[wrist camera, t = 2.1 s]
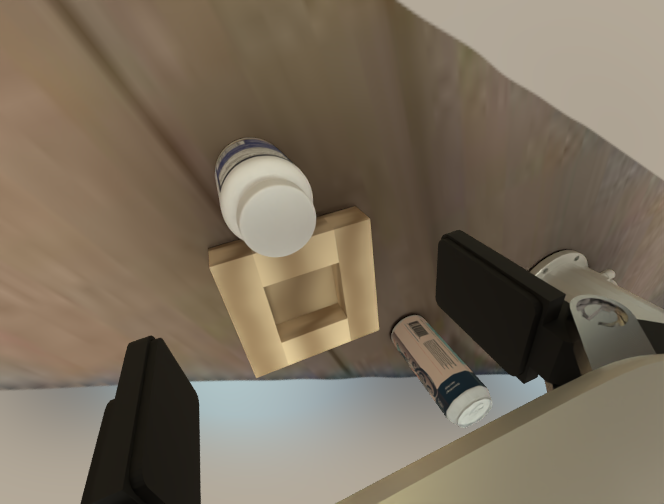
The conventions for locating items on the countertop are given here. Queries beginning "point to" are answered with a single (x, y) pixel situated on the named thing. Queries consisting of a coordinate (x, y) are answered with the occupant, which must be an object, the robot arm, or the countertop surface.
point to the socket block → (300, 292)
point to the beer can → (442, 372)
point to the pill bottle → (264, 197)
